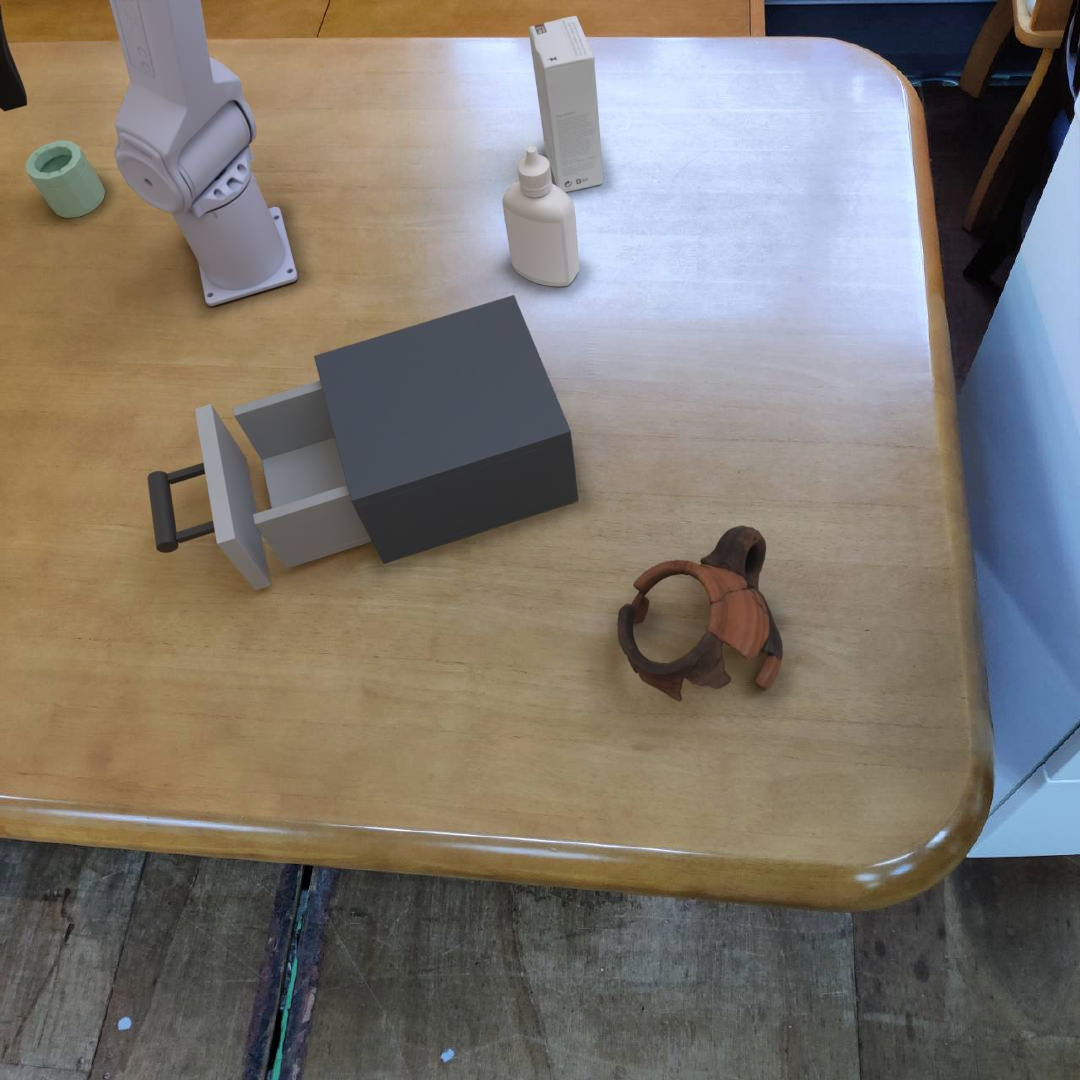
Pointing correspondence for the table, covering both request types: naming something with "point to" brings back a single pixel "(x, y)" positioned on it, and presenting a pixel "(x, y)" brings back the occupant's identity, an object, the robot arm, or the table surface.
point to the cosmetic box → (567, 102)
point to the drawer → (292, 480)
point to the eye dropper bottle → (541, 225)
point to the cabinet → (447, 429)
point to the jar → (65, 179)
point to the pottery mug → (711, 617)
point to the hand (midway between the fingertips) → (15, 103)
